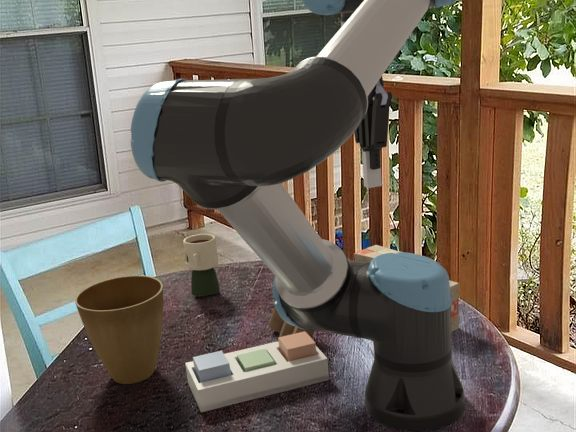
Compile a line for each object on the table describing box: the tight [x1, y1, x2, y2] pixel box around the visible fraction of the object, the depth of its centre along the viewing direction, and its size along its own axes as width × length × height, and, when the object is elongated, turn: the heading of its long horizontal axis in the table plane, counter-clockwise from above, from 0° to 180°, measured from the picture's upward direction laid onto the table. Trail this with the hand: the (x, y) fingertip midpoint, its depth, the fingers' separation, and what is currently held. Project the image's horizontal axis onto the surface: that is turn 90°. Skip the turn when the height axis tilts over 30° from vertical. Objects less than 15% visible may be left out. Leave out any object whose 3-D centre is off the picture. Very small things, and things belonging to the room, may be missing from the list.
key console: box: [185, 341, 330, 413], centre depth 124 cm, size 10×22×4 cm, turn 109°
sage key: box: [237, 349, 274, 372], centre depth 124 cm, size 5×5×4 cm
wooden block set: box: [268, 306, 315, 339], centre depth 140 cm, size 18×9×10 cm, turn 178°
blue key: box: [192, 350, 231, 383], centre depth 122 cm, size 5×5×4 cm
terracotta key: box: [277, 331, 317, 362], centre depth 126 cm, size 5×5×4 cm
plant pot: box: [74, 274, 164, 385], centre depth 129 cm, size 15×15×16 cm
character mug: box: [182, 233, 221, 297], centre depth 163 cm, size 11×7×13 cm, turn 174°
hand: (372, 186), depth 127 cm, fingers closed
